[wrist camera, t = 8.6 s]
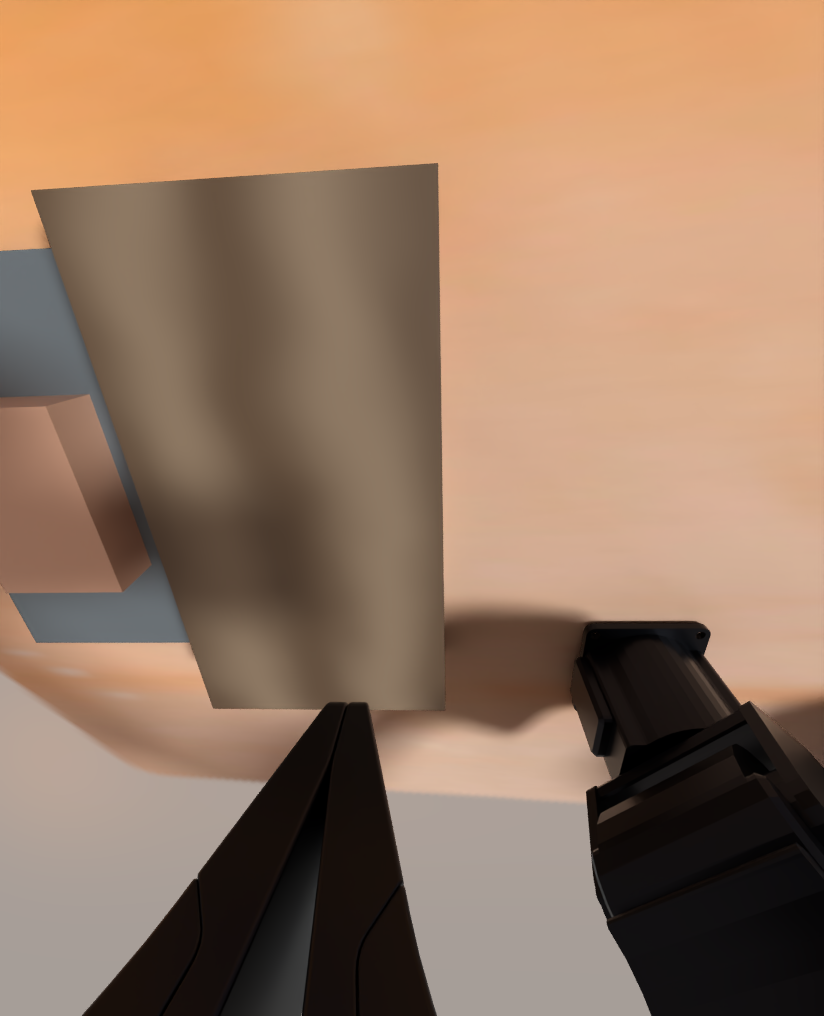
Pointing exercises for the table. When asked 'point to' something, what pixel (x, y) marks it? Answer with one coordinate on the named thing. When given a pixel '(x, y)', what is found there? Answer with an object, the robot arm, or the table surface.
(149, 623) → the mat
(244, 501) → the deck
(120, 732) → the table surface
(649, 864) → the robot arm
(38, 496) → the salmon brown block
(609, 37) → the table surface
